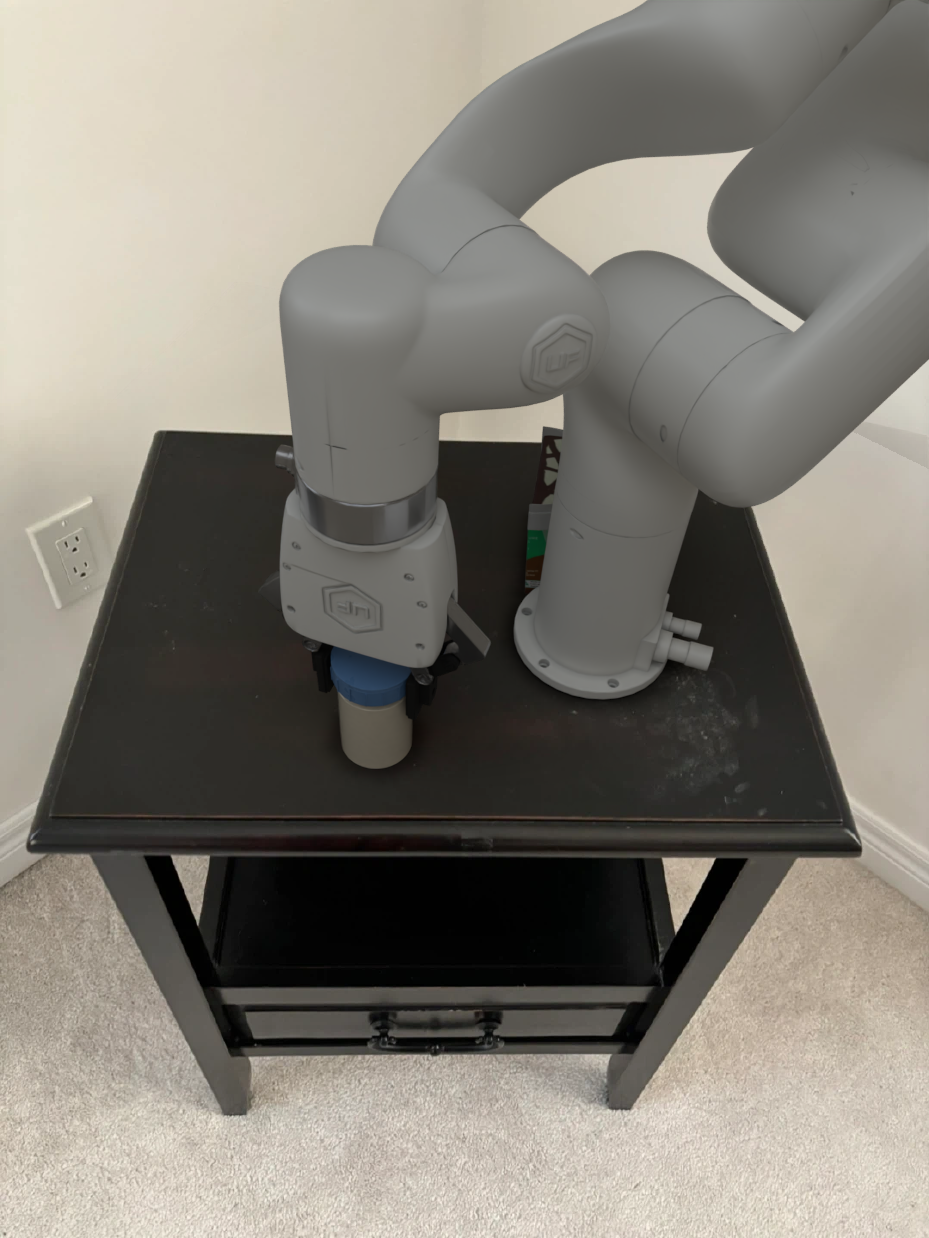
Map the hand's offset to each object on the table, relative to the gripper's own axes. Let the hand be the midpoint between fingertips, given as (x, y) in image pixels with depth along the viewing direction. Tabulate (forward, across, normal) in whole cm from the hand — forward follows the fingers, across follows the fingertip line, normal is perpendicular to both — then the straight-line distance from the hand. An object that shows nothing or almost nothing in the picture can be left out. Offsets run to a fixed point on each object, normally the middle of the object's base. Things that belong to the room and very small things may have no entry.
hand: (375, 688), depth 64 cm
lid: (-3, 0, 0) cm, 3 cm away
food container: (+6, +8, +23) cm, 25 cm away
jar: (+6, 0, 0) cm, 6 cm away
